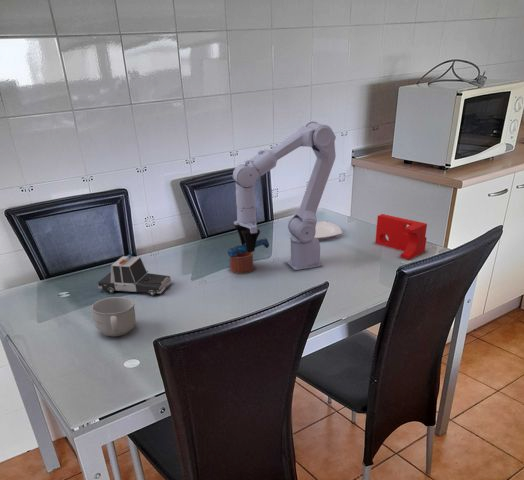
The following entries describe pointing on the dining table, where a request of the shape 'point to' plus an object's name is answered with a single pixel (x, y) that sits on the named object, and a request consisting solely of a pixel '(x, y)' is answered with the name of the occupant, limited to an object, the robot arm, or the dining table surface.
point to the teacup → (114, 315)
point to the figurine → (242, 248)
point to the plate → (326, 230)
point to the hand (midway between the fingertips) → (248, 248)
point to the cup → (242, 263)
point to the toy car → (133, 277)
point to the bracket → (401, 235)
